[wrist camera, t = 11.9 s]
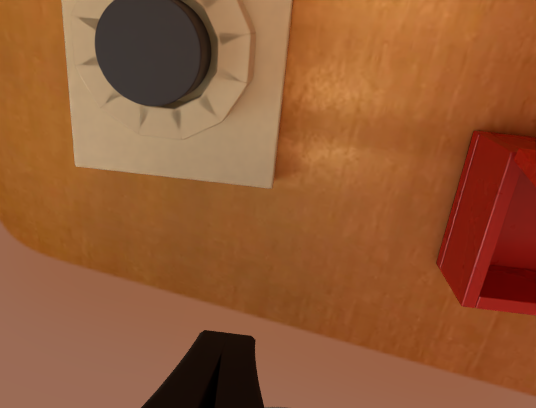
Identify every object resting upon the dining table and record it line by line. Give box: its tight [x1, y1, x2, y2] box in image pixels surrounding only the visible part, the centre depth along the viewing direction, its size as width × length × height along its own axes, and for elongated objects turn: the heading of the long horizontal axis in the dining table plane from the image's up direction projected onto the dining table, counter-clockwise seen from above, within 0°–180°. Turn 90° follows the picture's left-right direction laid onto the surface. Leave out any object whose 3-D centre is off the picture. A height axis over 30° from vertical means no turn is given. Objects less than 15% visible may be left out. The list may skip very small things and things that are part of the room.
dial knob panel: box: [62, 0, 293, 189], centre depth 17 cm, size 11×9×3 cm
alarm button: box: [95, 0, 211, 106], centre depth 15 cm, size 4×4×2 cm
